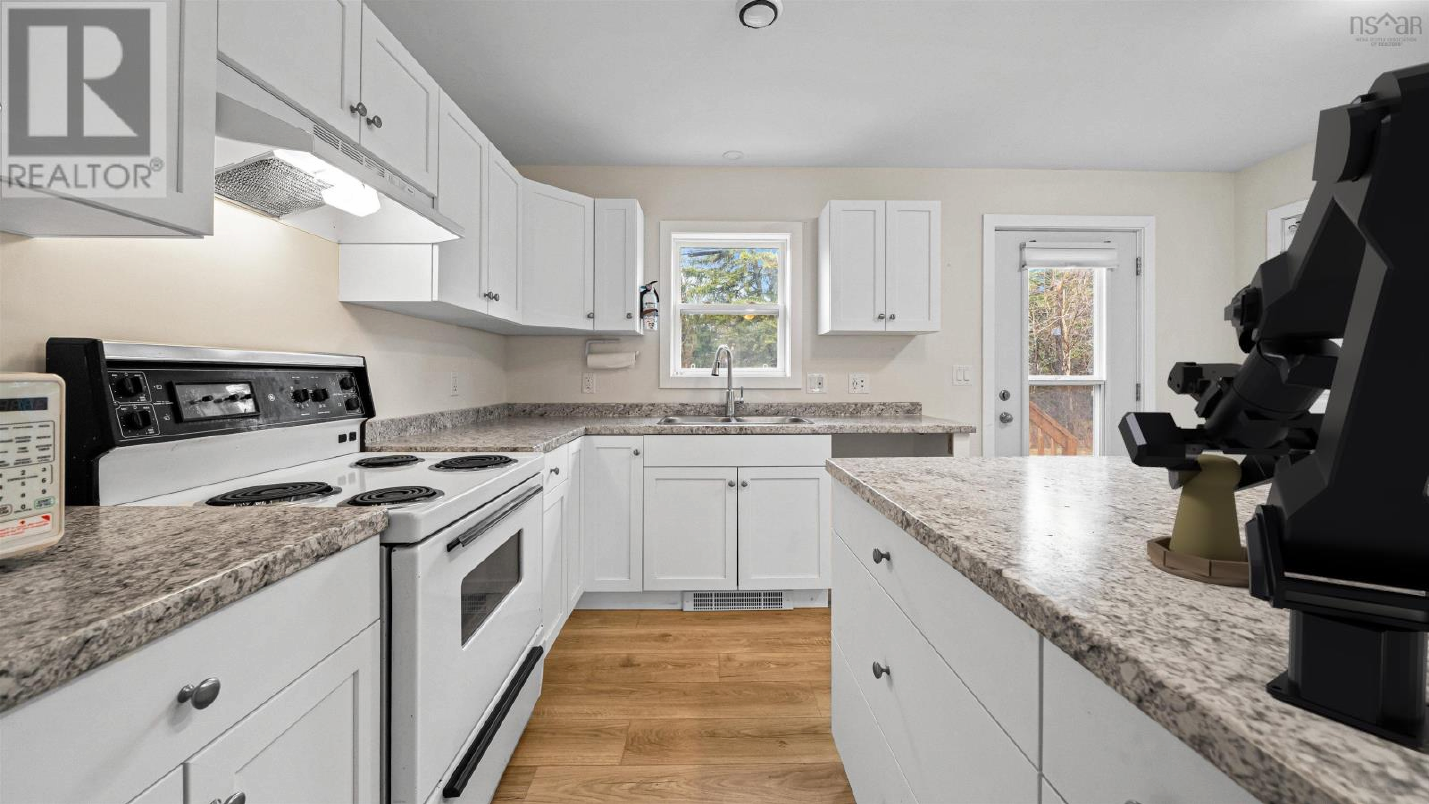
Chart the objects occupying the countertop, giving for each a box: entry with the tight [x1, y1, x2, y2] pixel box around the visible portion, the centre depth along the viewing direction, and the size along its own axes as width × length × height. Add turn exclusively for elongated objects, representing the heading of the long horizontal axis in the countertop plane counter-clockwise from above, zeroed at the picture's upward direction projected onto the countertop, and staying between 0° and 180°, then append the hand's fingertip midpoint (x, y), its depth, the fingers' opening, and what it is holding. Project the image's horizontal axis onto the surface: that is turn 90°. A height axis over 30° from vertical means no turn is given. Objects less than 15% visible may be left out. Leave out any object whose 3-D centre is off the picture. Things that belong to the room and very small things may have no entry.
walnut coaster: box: [1146, 535, 1249, 588], centre depth 59 cm, size 10×10×2 cm
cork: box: [1169, 453, 1243, 562], centre depth 59 cm, size 6×6×11 cm
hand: (1201, 487), depth 60 cm, fingers closed on cork, 5 cm apart
